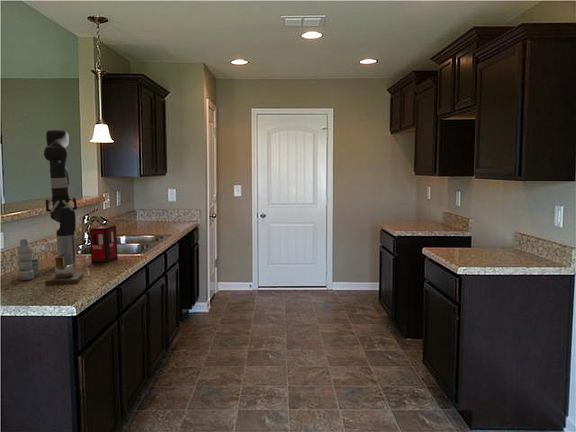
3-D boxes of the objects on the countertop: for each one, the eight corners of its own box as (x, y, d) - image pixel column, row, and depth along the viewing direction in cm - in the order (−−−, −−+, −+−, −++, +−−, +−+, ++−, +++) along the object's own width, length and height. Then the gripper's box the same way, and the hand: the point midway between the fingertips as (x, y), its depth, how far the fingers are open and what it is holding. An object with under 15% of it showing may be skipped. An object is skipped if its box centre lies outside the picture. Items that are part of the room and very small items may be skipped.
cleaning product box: (102, 258, 299) (101, 225, 297) (117, 258, 299) (115, 225, 297) (91, 263, 283) (89, 229, 281) (107, 263, 283) (105, 228, 281)
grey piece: (68, 278, 235) (67, 257, 234) (51, 278, 234) (50, 257, 233) (76, 273, 245) (75, 253, 244) (60, 273, 244) (59, 253, 243)
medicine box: (24, 278, 246) (23, 261, 245) (19, 277, 249) (17, 260, 248) (39, 275, 253) (38, 259, 252) (34, 274, 255) (33, 258, 254)
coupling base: (52, 278, 245) (52, 274, 245) (82, 277, 248) (82, 272, 248) (45, 285, 231) (45, 280, 231) (77, 283, 234) (77, 278, 234)
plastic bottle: (20, 279, 245) (17, 239, 243) (35, 278, 247) (32, 238, 245) (18, 282, 239) (15, 241, 237) (33, 280, 241) (30, 240, 239)
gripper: (43, 188, 241) (46, 221, 243) (74, 186, 246) (78, 218, 249) (44, 187, 248) (47, 219, 250) (74, 185, 253) (78, 216, 256)
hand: (62, 218), depth 249 cm, fingers open, 8 cm apart
